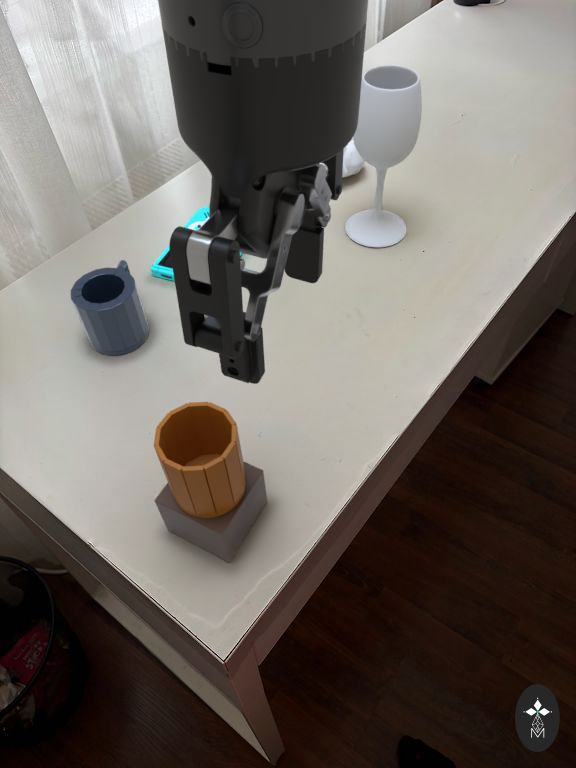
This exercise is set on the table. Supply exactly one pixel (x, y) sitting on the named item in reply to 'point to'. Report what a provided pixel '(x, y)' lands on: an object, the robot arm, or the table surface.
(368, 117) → the wineglass
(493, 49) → the table surface
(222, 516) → the block
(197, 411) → the orange hollow slatted cylinder
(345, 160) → the figurine
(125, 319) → the mug
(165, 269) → the handheld game console
